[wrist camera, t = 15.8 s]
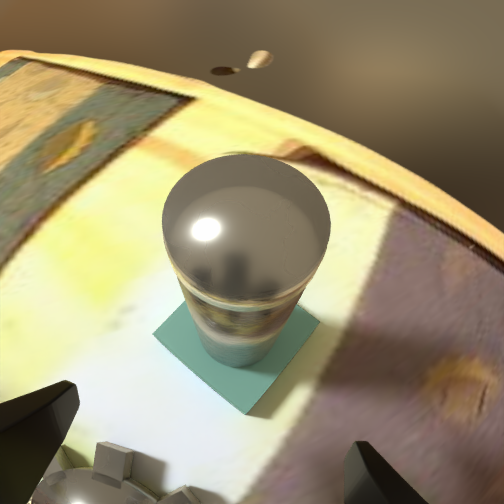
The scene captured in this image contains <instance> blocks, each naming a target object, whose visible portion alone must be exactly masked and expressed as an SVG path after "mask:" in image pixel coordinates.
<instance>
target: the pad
mask: <svg viewBox="0 0 504 504" xmlns="http://www.w3.org/2000/svg"><path fill="white" fill-rule="evenodd" d="M319 323H320V322H319V321H318V320H317V319H315V318H314V317H313V316H311V315H310V314H309V313H307V312H306V311H305V310H303V309H302V308H301V307H299V306H298V305H297V304H296V306H295V308H294V310H293V312H292V313H291V315H290V317H289V319H288V321H287V322H286V324H285V326H284V328H283V329H282V331H281V333H280V335H279V337H278V338H277V340H276V342H275V344H274V345H273V347H272V349H271V350H270V352H269V353H268V354H267V355H266V356H265V357H264V358H263V359H262V360H261V361H259V362H257V363H255V364H253V365H250V366H247V367H239V368H238V367H229V366H226V365H223V364H221V363H219V362H217V361H215V360H214V359H213V358H212V357H210V355H209V354H208V353H207V352H206V351H205V349H204V347H203V345H202V343H201V341H200V338H199V335H198V333H197V330H196V327H195V325H194V322H193V319H192V317H191V314H190V311H189V309H188V306H187V303H186V300H185V301H184V302H183V303H182V304H181V305H180V306H179V307H178V308H177V309H176V310H175V311H174V312H173V314H172V315H171V316H170V317H169V318H168V319H167V320H166V321H165V322H164V323H163V324H162V325H161V326H160V327H159V328H158V329H157V330H156V331H155V332H154V333H153V335H154V336H155V337H156V339H157V340H159V341H160V342H161V343H162V344H163V345H164V346H165V347H166V348H167V349H168V350H169V351H170V352H171V353H172V354H173V355H174V356H176V357H177V358H178V359H179V360H180V361H181V362H182V363H183V364H184V365H185V366H187V367H188V368H189V369H190V370H191V371H192V372H193V373H195V374H196V375H197V376H198V377H199V378H200V379H201V380H203V381H204V382H205V383H206V384H207V385H208V386H210V387H211V388H212V389H213V390H214V391H216V392H217V393H218V394H219V395H221V396H222V397H223V398H224V399H225V400H227V401H228V402H229V403H230V404H232V405H233V406H234V407H235V408H237V409H238V410H239V411H241V412H242V413H243V414H244V415H246V414H247V412H248V411H249V410H250V409H251V408H252V407H253V406H254V404H255V403H256V402H257V401H258V400H259V399H260V397H261V396H262V395H263V394H264V393H265V391H266V390H267V389H268V388H269V387H270V385H271V384H272V383H273V382H274V381H275V379H276V378H277V377H278V376H279V374H280V373H281V372H282V371H283V369H284V368H285V367H286V366H287V364H288V363H289V362H290V361H291V359H292V358H293V357H294V356H295V354H296V353H297V352H298V350H299V349H300V348H301V347H302V345H303V344H304V343H305V341H306V340H307V339H308V337H309V336H310V335H311V333H312V332H313V331H314V329H315V328H316V327H317V325H318V324H319Z"/></svg>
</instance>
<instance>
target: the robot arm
mask: <svg viewBox="0 0 504 504" xmlns="http://www.w3.org/2000/svg"><path fill="white" fill-rule="evenodd" d="M79 405H80V400H79V395H78V390H77V386H76V385H75V384H74V383H72V382H70V381H67V380H63V381H61V382H58V383H55V384H53V385H50V386H47V387H45V388H42V389H39V390H37V391H34V392H31V393H28V394H26V395H23V396H20V397H17V398H15V399H12V400H9V401H6V402H3V403H0V504H27V503H28V502H29V500H30V498H31V496H32V494H33V493H34V491H35V489H36V487H37V485H38V484H39V482H40V480H41V478H42V477H43V475H44V473H45V472H46V470H47V468H48V466H49V465H50V463H51V461H52V460H53V458H54V456H55V455H56V453H57V451H58V450H59V448H60V446H61V444H62V443H63V441H64V439H65V437H66V435H67V432H68V430H69V428H70V426H71V424H72V421H73V419H74V417H75V415H76V413H77V411H78V408H79ZM344 503H345V504H428V503H427V502H426V501H425V500H424V499H423V498H422V497H421V496H420V495H419V494H418V493H417V492H416V491H415V490H414V489H413V488H412V487H411V486H410V485H409V484H408V483H407V482H406V481H405V480H404V479H403V478H402V477H401V476H400V475H399V474H398V473H397V472H396V471H395V470H394V469H393V467H392V466H391V465H390V464H389V463H388V462H387V461H386V460H385V459H384V458H383V457H382V456H381V455H380V454H379V453H378V452H377V451H376V450H375V449H374V448H373V447H372V446H371V445H370V444H369V443H368V442H367V441H355V442H354V443H353V444H352V446H351V448H350V450H349V451H348V453H347V455H346V457H345V461H344Z"/></svg>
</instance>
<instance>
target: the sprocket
mask: <svg viewBox="0 0 504 504" xmlns="http://www.w3.org/2000/svg"><path fill="white" fill-rule="evenodd" d="M133 454H134V450H131V449H128V448H124V447H121V446H118V445H115V444H112V443H110V442H107V441H106V442H99V443H97V446H96V452H95V458H94V465H93V467H76V468H74V467H73V466H72V464H71V462H70V461H69V459H68V457H67V456H66V454H65V452H64V450H63V449H62V447H61V446H60V448H59V450H58V451H57V453H56V455H55V456H54V458H53V460H52V461H51V463H50V465H49V466H48V468H47V470H46V472H45V473H44V475H43V478H44V480H42V481H41V482H40V484H39V485H38V486H37V487H36V489H35V491H34V493H33V494H32V496H31V498H30V500H29V502H28V503H27V504H201V503H200V502H199V500H198V499H197V498H196V497H195V496H194V495H193V493H192V492H191V491H190V490H189V489H188V487H187V486H186V485H184V486H182V487H180V488H178V489H176V490H174V491H172V492H170V493H169V494H167V495H165V496H163V497H161V498H159V497H158V496H157V495H156V494H155V493H153V492H152V491H151V490H149V489H148V488H147V487H145V486H143V485H142V484H140V483H139V482H137V481H135V480H133V479H131V478H130V473H131V467H132V460H133Z"/></svg>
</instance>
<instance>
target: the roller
mask: <svg viewBox="0 0 504 504" xmlns="http://www.w3.org/2000/svg"><path fill="white" fill-rule="evenodd" d="M330 227H331V222H330V214H329V211H328V207H327V205H326V202H325V200H324V198H323V196H322V195H321V193H320V191H319V190H318V189H317V187H316V186H315V185H314V184H313V183H312V182H311V181H310V180H309V179H308V178H307V177H306V176H305V175H304V174H302V173H301V172H300V171H298V170H296V169H295V168H293V167H292V166H290V165H288V164H285V163H283V162H281V161H278V160H275V159H272V158H268V157H264V156H258V155H247V154H241V155H229V156H223V157H219V158H215V159H212V160H209V161H207V162H205V163H202V164H200V165H198V166H197V167H195V168H193V169H192V170H190V171H189V172H188V173H186V174H185V175H184V176H183V177H182V178H181V179H180V180H179V181H178V182H177V183H176V184H175V186H174V187H173V188H172V190H171V192H170V193H169V195H168V197H167V200H166V202H165V205H164V209H163V214H162V228H163V239H164V244H165V247H166V251H167V254H168V257H169V260H170V263H171V265H172V267H173V270H174V272H175V273H176V275H177V278H178V281H179V283H180V286H181V289H182V292H183V295H184V298H185V300H186V303H187V306H188V309H189V311H190V314H191V317H192V319H193V322H194V325H195V327H196V330H197V333H198V335H199V338H200V341H201V343H202V345H203V347H204V349H205V351H206V352H207V353H208V354H209V355H210V357H212V358H213V359H214V360H215V361H217V362H219V363H221V364H223V365H226V366H229V367H238V368H239V367H247V366H250V365H253V364H255V363H257V362H259V361H261V360H262V359H263V358H264V357H265V356H266V355H267V354H268V353H269V352H270V350H271V349H272V347H273V345H274V344H275V342H276V340H277V338H278V337H279V335H280V333H281V331H282V329H283V328H284V326H285V324H286V322H287V321H288V319H289V317H290V315H291V313H292V312H293V310H294V308H295V306H296V304H297V303H298V301H299V299H300V297H301V295H302V293H303V291H304V290H305V288H306V286H307V285H308V284H309V282H310V281H311V280H312V278H313V276H314V274H315V273H316V271H317V269H318V267H319V265H320V263H321V261H322V260H323V257H324V255H325V252H326V249H327V244H328V241H329V236H330Z"/></svg>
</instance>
